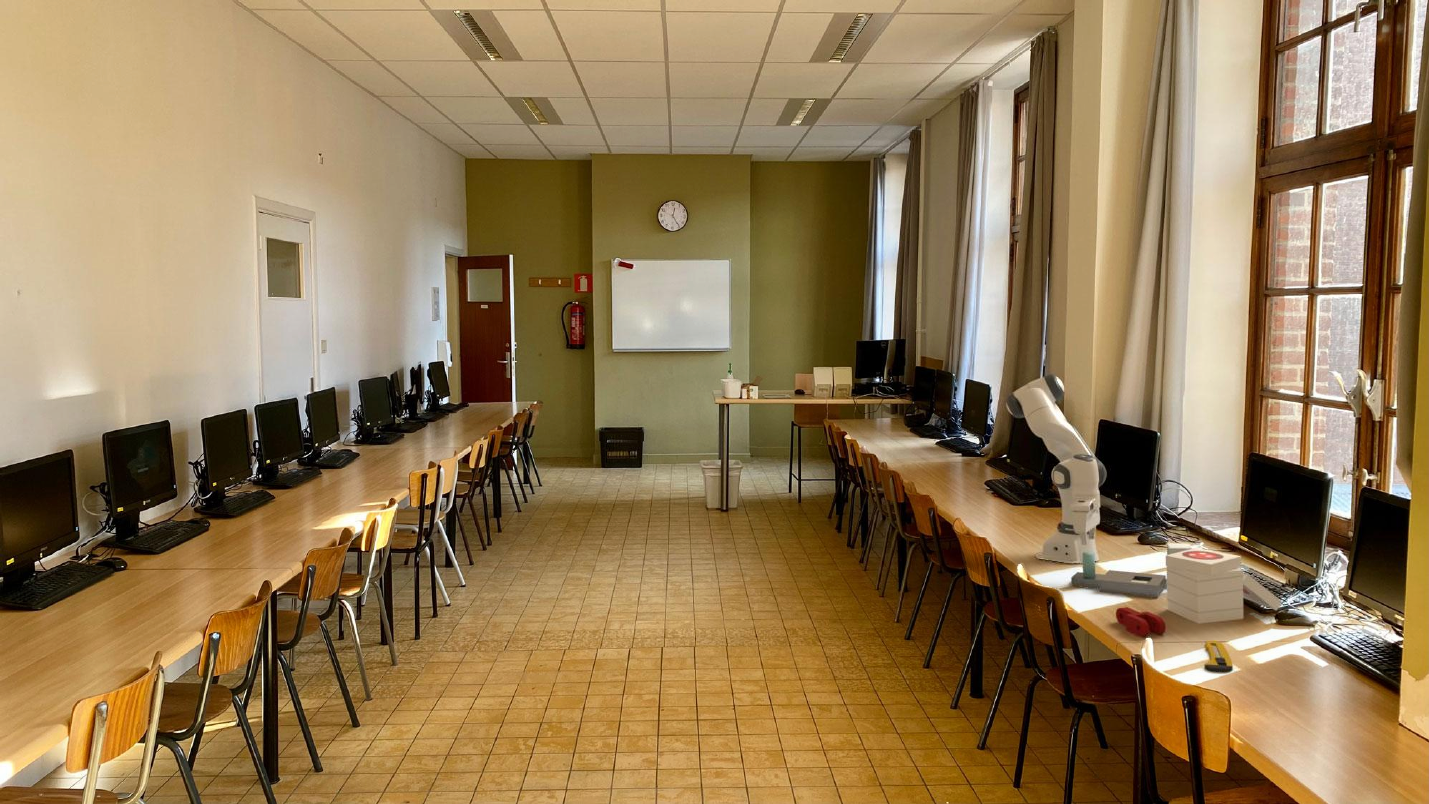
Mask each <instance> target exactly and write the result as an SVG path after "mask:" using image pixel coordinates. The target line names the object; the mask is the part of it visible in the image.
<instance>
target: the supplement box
mask: <svg viewBox="0 0 1429 804" xmlns="http://www.w3.org/2000/svg"><path fill="white" fill-rule="evenodd" d="M1190 549H1194V548H1193V546H1192V545H1191V544H1190V543H1186V542H1185V543H1178V542H1177V543H1176V542H1175V543H1174V542H1173V543H1172V542H1171V543H1170V542H1169V543H1166V555H1170V554H1174V553H1178V552H1182V551H1186V550H1190Z"/></svg>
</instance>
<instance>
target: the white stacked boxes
mask: <svg viewBox="0 0 1429 804" xmlns="http://www.w3.org/2000/svg"><path fill="white" fill-rule="evenodd" d="M1165 566H1166V609H1167V611H1169V612H1172V613H1173V614H1176V615H1178V616H1181V617H1183V618H1185V619H1188V620H1190V621H1191V622H1194V623H1196V624H1199V625H1200V624H1208V623H1217V622H1225V621H1235V620H1243V619H1244V599H1245V600H1249V601H1251V602H1254V603H1256V604H1259V605H1262V606H1264V607H1267V608H1269V609H1272V610H1273V611H1278V609H1279V608H1280V607H1281V606H1282V603H1283V601H1282V600H1281V599H1279V598H1278V596H1276V595H1274V594H1273V593H1272V592H1271V591H1270V590H1268V588H1265V586H1263V585H1262V584H1261V583H1260V582H1258V581H1257V580H1255V579H1254V578H1253V576H1250V574H1247V573H1245V572H1244V570H1243V569H1241V568H1242V555H1235V554H1232V553H1231V554H1230V553H1225V552H1220V551H1215V550H1214V551H1213V550H1209V549H1204V548H1198V547H1194V548H1193V549H1190V550H1186V551H1182V552H1178V553H1174V554H1170V555H1167V554H1165Z"/></svg>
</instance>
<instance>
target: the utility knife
mask: <svg viewBox="0 0 1429 804" xmlns="http://www.w3.org/2000/svg"><path fill="white" fill-rule="evenodd" d="M1205 650H1206V651H1207V652H1208V653H1209V656H1210V657H1209V658H1210V660H1208V661H1207V662H1205V663H1203V664H1204V665H1203V666H1204V669H1205V670H1207V671H1210V672H1213V673H1230V672H1231V671H1233V670H1234V665H1233V662H1232V659H1231V657H1230V654H1229V652H1228V651H1227V649H1226V647H1225V645H1224V644H1223V643H1222V642H1221V641H1216V640H1206V641H1205Z"/></svg>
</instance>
